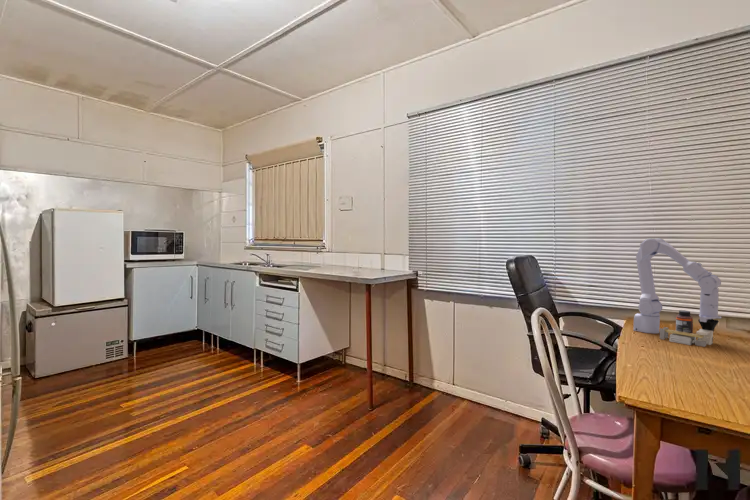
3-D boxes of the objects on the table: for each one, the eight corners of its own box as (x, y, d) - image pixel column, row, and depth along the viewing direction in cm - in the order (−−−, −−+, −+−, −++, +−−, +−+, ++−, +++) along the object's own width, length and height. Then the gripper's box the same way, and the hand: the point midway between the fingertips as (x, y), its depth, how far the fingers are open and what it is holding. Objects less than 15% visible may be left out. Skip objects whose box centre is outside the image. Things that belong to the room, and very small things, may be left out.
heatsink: (669, 341, 161) (669, 334, 161) (675, 339, 165) (675, 332, 165) (690, 345, 155) (690, 338, 155) (696, 342, 159) (696, 335, 159)
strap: (663, 331, 164) (663, 329, 164) (665, 330, 166) (665, 328, 166) (701, 338, 154) (701, 336, 154) (703, 337, 155) (703, 335, 155)
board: (650, 344, 161) (650, 330, 160) (670, 336, 173) (670, 323, 173) (698, 354, 148) (699, 339, 147) (716, 345, 160) (717, 331, 160)
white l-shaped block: (694, 344, 156) (694, 331, 156) (700, 341, 160) (700, 328, 160) (707, 346, 153) (707, 333, 153) (712, 343, 157) (713, 330, 157)
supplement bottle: (686, 334, 178) (687, 309, 177) (695, 337, 172) (696, 312, 171) (672, 333, 178) (673, 309, 178) (681, 337, 172) (682, 312, 172)
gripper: (716, 307, 152) (714, 342, 152) (726, 304, 160) (725, 336, 161) (693, 305, 157) (692, 338, 158) (705, 301, 166) (704, 333, 166)
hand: (707, 337), depth 160 cm, fingers closed
